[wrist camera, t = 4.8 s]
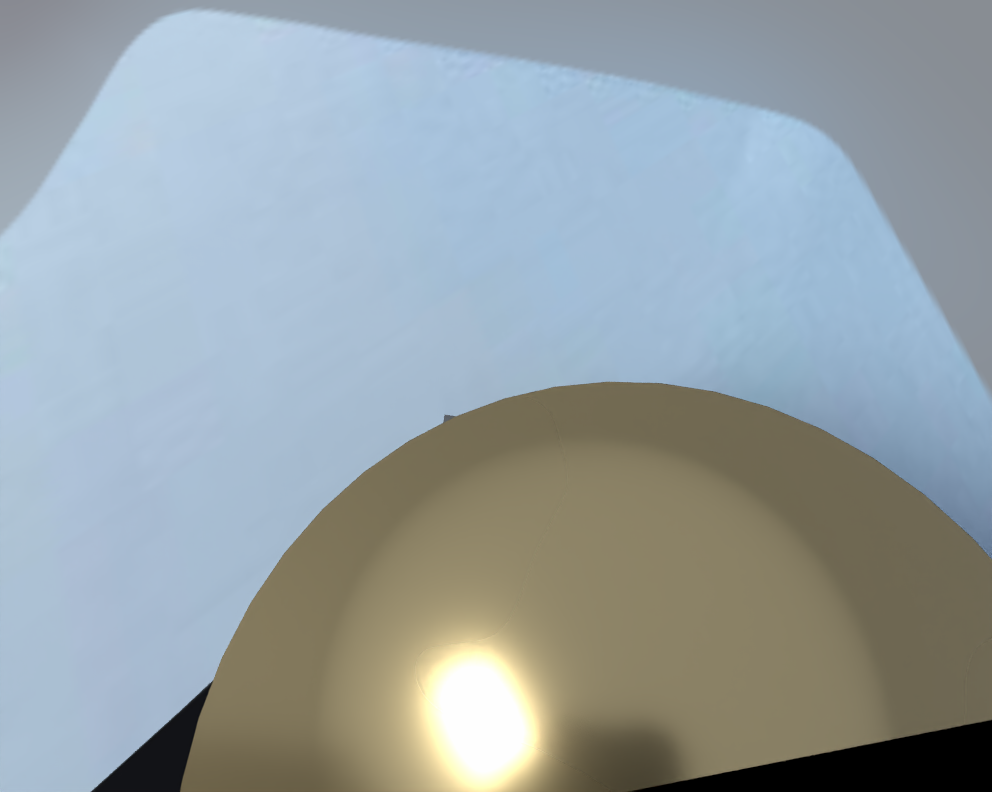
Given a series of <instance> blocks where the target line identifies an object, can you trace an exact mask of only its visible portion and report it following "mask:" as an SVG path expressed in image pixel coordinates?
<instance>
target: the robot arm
mask: <svg viewBox="0 0 992 792" xmlns="http://www.w3.org/2000/svg"><path fill="white" fill-rule="evenodd" d="M212 683H213V681H212V682H211V683H210V684H209V685H208V686H207V687H205V688H204V689H203V690H202V691H201V692H200V693H199V694H198V695H197V696H196V697H195V698H194V699H193V700H192V701H191V702H189V703H188V704H187V705H186V706H185V707H184V708H183V709H182V710H181V711H180V712H179V713H178V714H176V715H175V716H174V717H173V718H172V719H171V720H170V721H169V722H168V723H166V724H165V725H164V726H163V727H162V728H161V729H160V730H159V731H158V732H157V733H155V734H154V735H153V736H152V737H151V738H150V739H149V740H148V741H147V742H145V743H144V744H143V745H142V746H141V747H140V748H139V749H138V750H137V751H135V752H134V753H133V754H132V755H131V756H130V757H129V758H128V759H127V760H126V761H124V762H123V763H122V764H121V765H120V766H119V767H118V768H117V769H116V770H114V771H113V772H112V773H111V774H110V775H109V776H108V777H107V778H106V779H104V780H103V781H102V782H101V783H100V784H99V785H98V786H97V787H96V788H95V789H93V790H92V791H91V792H180V790H181V784H182V780H183V776H184V772H185V769H186V765H187V761H188V757H189V753H190V750H191V746H192V742H193V738H194V734H195V731H196V727H197V723H198V719H199V716H200V714H201V711H202V709H203V706H204V703H205V701H206V698H207V696H208V693H209V690H210V688H211V685H212Z"/></svg>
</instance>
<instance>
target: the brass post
mask: <svg viewBox="0 0 992 792" xmlns="http://www.w3.org/2000/svg"><path fill="white" fill-rule="evenodd" d="M180 792H992V559H991V558H990V557H989V556H988V555H987V554H986V553H985V551H984V550H983V549H982V548H981V547H980V546H979V545H978V544H977V543H976V541H975V540H974V539H973V538H972V537H971V536H970V535H969V534H967V533H966V532H965V531H964V530H963V529H962V528H961V527H960V526H959V525H957V524H956V523H955V522H954V521H953V520H952V519H951V518H950V517H949V516H947V515H946V514H945V513H944V512H943V511H942V510H941V509H940V508H939V507H937V506H936V505H935V504H934V503H933V502H932V501H931V500H930V499H929V498H927V497H926V496H925V495H924V494H923V493H921V492H920V491H918V490H917V489H916V488H914V487H913V486H911V485H910V484H909V483H907V482H906V481H905V480H903V479H902V478H900V477H899V476H898V475H896V474H895V473H893V472H892V471H891V470H889V469H888V468H886V467H885V466H884V465H882V464H881V463H879V462H878V461H877V460H875V459H874V458H872V457H870V456H869V455H867V454H865V453H863V452H861V451H860V450H858V449H856V448H854V447H853V446H851V445H849V444H847V443H845V442H844V441H842V440H840V439H838V438H836V437H835V436H833V435H831V434H829V433H828V432H826V431H824V430H822V429H820V428H818V427H815V426H813V425H810V424H808V423H806V422H803V421H801V420H798V419H796V418H794V417H791V416H789V415H786V414H784V413H782V412H779V411H777V410H774V409H772V408H770V407H767V406H763V405H760V404H756V403H753V402H749V401H746V400H742V399H739V398H735V397H731V396H728V395H724V394H721V393H717V392H713V391H707V390H700V389H694V388H687V387H681V386H675V385H668V384H662V383H631V382H601V383H590V384H580V385H570V386H560V387H553V388H548V389H544V390H540V391H535V392H531V393H527V394H522V395H518V396H514V397H509V398H505V399H502V400H499V401H497V402H494V403H491V404H488V405H486V406H483V407H480V408H478V409H475V410H472V411H469V412H467V413H464V414H461V415H459V416H456V417H454V418H452V419H450V420H448V421H446V422H444V423H442V424H440V425H438V426H437V427H435V428H433V429H431V430H429V431H427V432H425V433H423V434H421V435H419V436H417V437H416V438H414V439H412V440H410V441H408V442H407V443H405V444H404V445H402V446H401V447H399V448H398V449H396V450H395V451H394V452H392V453H391V454H389V455H388V456H386V457H385V458H384V459H382V460H381V461H379V462H378V463H376V464H375V465H374V466H372V467H371V468H369V469H368V470H366V471H365V472H364V473H362V474H361V475H360V476H359V477H358V478H357V479H356V480H355V481H354V482H352V483H351V484H350V485H349V486H348V487H347V488H346V489H345V490H344V491H342V492H341V493H340V494H339V495H338V496H337V497H336V498H335V499H334V500H332V501H331V502H330V503H329V504H328V505H327V506H326V507H325V508H324V509H322V511H321V512H320V513H319V514H318V515H317V516H316V517H315V519H314V520H313V521H312V522H311V523H310V524H309V525H308V527H307V528H306V529H305V530H304V531H303V532H302V534H301V535H300V536H299V537H298V538H297V539H296V540H295V542H294V543H293V544H292V545H291V546H290V547H289V549H288V550H287V551H286V552H285V553H284V555H283V556H282V557H281V559H280V560H279V562H278V563H277V565H276V566H275V568H274V569H273V571H272V572H271V574H270V575H269V577H268V578H267V580H266V581H265V583H264V584H263V585H262V587H261V588H260V590H259V591H258V593H257V594H256V596H255V597H254V599H253V600H252V602H251V603H250V605H249V607H248V609H247V611H246V613H245V615H244V617H243V619H242V621H241V622H240V624H239V626H238V628H237V630H236V632H235V634H234V636H233V638H232V640H231V642H230V644H229V645H228V647H227V649H226V651H225V653H224V655H223V657H222V659H221V662H220V664H219V667H218V670H217V672H216V675H215V677H214V680H213V683H212V685H211V688H210V690H209V693H208V696H207V698H206V701H205V703H204V706H203V709H202V711H201V714H200V716H199V719H198V723H197V727H196V731H195V734H194V738H193V742H192V746H191V750H190V753H189V757H188V761H187V765H186V769H185V772H184V776H183V780H182V784H181V790H180Z"/></svg>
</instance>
